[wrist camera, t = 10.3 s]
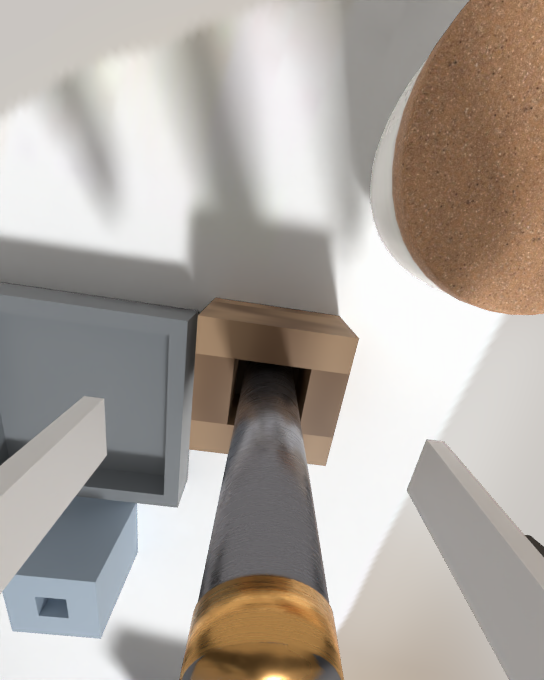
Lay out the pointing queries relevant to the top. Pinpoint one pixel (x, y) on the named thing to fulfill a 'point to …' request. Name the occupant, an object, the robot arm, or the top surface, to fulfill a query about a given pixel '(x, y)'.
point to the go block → (274, 348)
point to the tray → (102, 383)
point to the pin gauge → (264, 552)
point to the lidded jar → (471, 162)
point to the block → (75, 570)
